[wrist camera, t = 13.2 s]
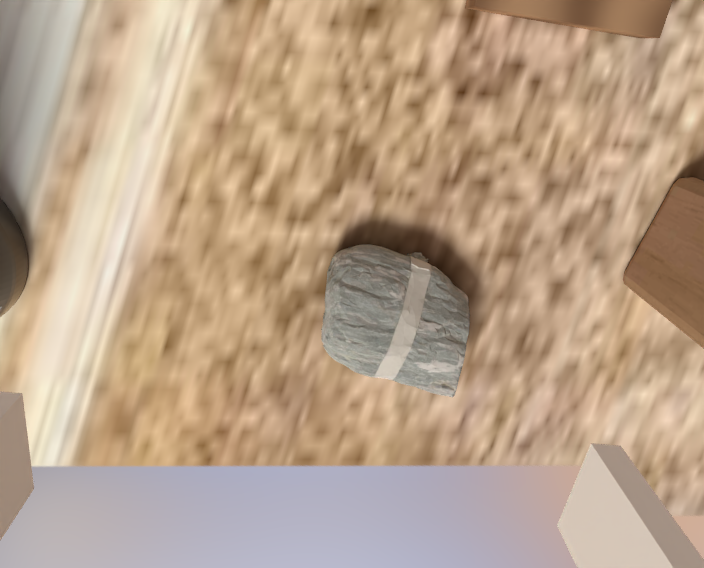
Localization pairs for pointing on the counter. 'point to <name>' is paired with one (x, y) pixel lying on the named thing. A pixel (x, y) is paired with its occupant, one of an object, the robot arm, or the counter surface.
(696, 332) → the wooden block
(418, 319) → the decorative stone
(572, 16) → the brown square frame
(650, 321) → the counter surface
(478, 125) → the counter surface
